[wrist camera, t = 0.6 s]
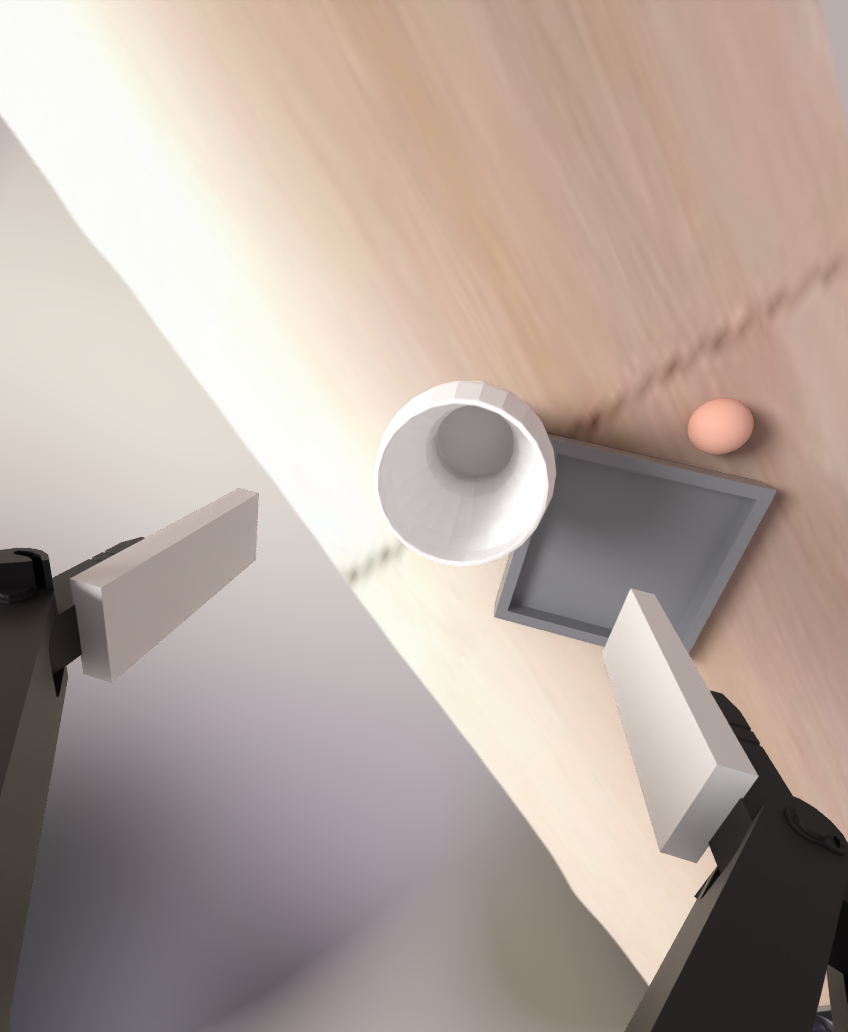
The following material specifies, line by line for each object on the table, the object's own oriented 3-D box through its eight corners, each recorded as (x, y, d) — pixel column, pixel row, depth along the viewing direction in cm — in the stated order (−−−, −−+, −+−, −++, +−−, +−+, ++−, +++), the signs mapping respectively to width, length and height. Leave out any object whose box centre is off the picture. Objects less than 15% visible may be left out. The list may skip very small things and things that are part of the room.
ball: (692, 390, 34) (715, 396, 30) (747, 401, 33) (776, 409, 30) (671, 441, 35) (690, 452, 31) (723, 453, 35) (748, 466, 31)
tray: (546, 432, 37) (549, 438, 34) (760, 481, 35) (777, 490, 33) (494, 603, 43) (494, 616, 41) (672, 650, 42) (681, 667, 39)
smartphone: (876, 1040, 55) (752, 1053, 61) (871, 1030, 56) (749, 1043, 61) (852, 1007, 54) (727, 1022, 59) (847, 997, 55) (724, 1013, 60)
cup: (569, 431, 36) (606, 485, 22) (480, 517, 40) (464, 608, 27) (473, 340, 35) (450, 339, 21) (391, 439, 39) (327, 491, 25)
